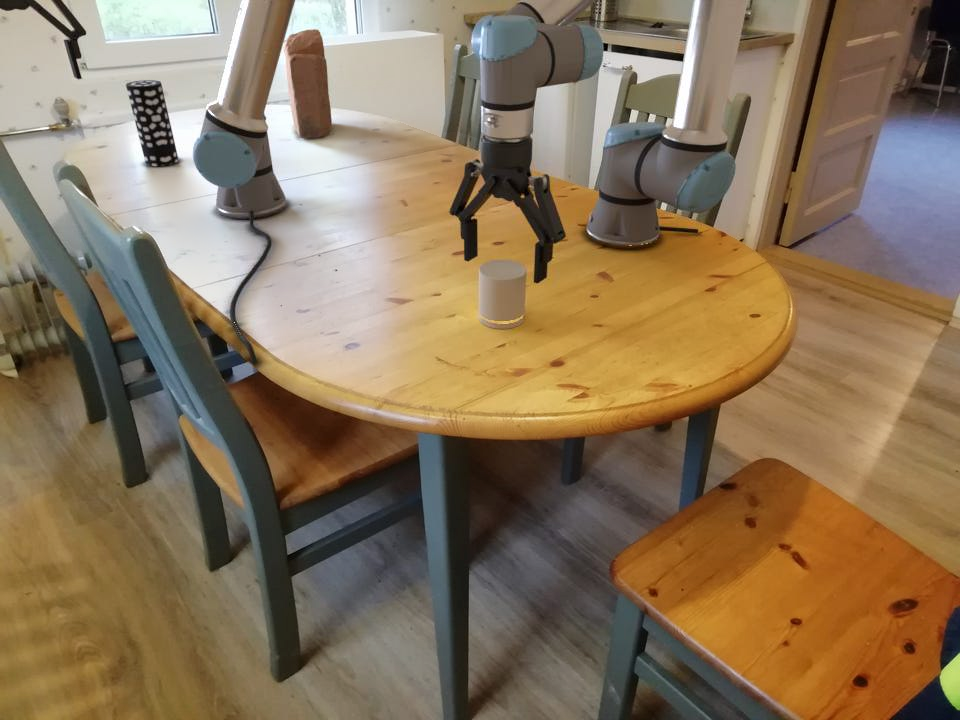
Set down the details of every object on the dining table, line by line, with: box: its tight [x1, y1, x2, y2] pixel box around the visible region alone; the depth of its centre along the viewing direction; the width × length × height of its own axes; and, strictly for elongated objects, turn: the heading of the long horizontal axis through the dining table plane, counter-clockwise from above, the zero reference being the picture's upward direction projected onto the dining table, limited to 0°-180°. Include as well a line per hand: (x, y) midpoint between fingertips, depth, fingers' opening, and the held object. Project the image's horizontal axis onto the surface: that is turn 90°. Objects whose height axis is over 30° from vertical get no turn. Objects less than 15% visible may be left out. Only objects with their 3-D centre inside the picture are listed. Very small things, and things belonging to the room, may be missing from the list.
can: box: [478, 259, 528, 330], centre depth 113 cm, size 8×8×9 cm
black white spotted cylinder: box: [125, 79, 179, 167], centre depth 181 cm, size 8×8×20 cm
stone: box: [282, 28, 333, 139], centre depth 208 cm, size 22×11×28 cm, turn 18°
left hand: (38, 82), depth 127 cm, fingers open, 13 cm apart
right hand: (504, 269), depth 111 cm, fingers open, 13 cm apart
